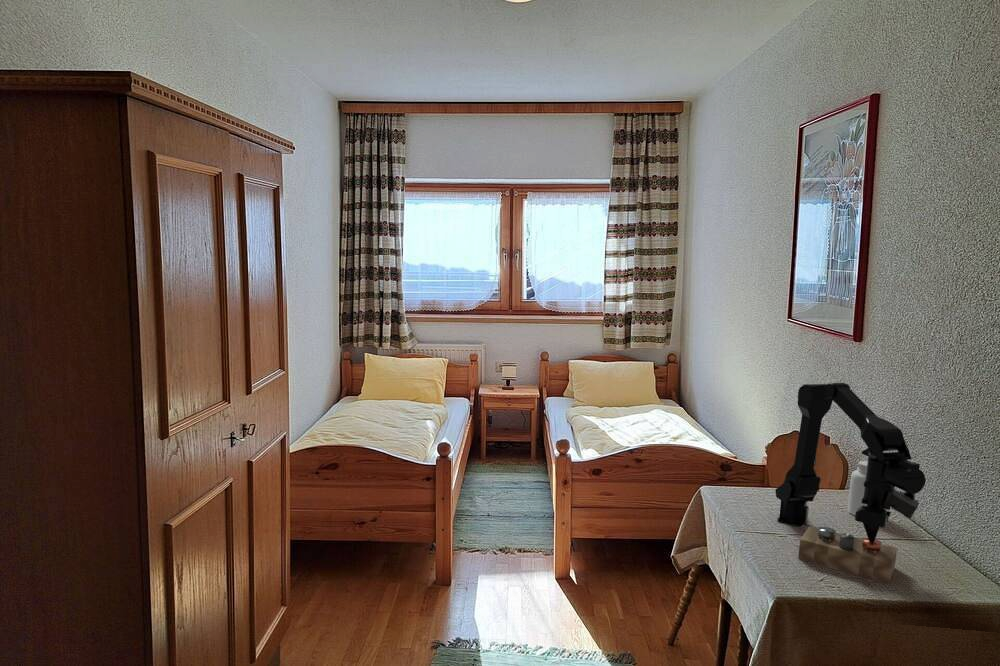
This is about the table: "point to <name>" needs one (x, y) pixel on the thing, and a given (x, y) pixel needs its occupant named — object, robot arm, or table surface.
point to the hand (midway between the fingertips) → (871, 541)
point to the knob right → (871, 545)
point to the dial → (846, 541)
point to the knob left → (826, 533)
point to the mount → (848, 556)
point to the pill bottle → (857, 487)
